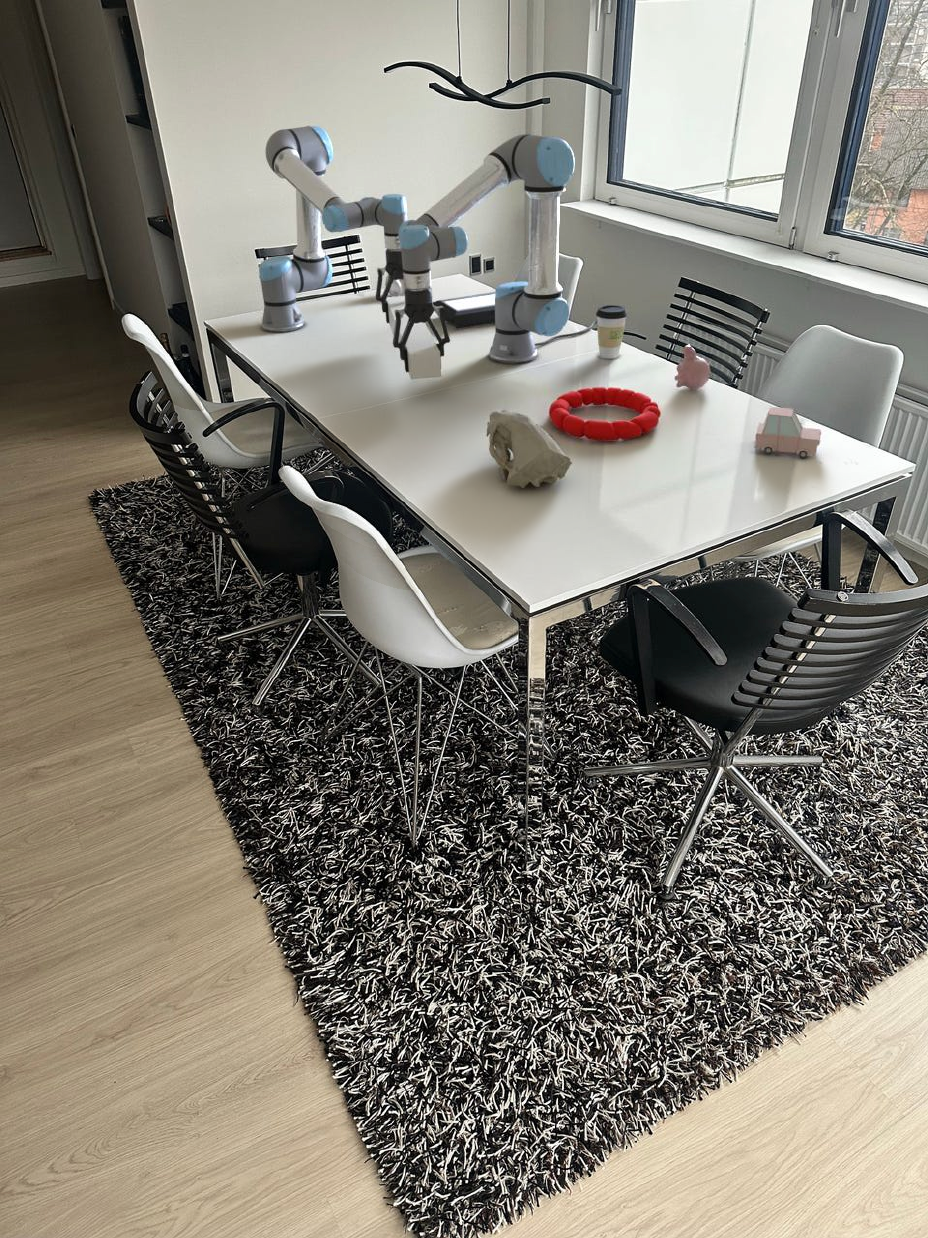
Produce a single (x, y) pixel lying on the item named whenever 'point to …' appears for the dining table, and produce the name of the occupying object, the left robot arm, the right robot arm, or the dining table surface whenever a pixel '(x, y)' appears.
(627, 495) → the dining table surface
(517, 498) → the dining table surface
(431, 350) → the wide beam
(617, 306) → the coffee cup
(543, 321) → the right robot arm
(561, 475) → the animal skull
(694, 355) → the figurine
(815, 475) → the dining table surface
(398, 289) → the seashell
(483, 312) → the electronic device
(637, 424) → the decorative ring
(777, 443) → the toy car
